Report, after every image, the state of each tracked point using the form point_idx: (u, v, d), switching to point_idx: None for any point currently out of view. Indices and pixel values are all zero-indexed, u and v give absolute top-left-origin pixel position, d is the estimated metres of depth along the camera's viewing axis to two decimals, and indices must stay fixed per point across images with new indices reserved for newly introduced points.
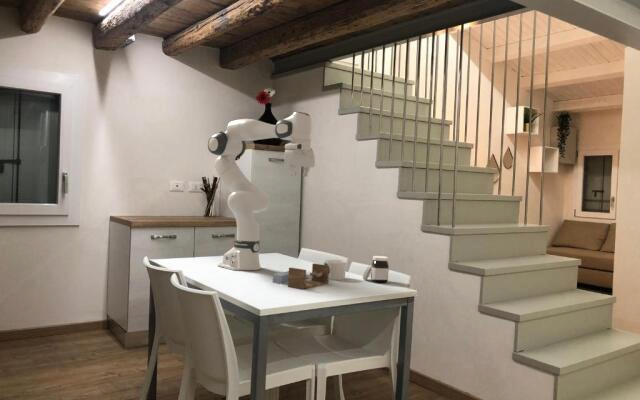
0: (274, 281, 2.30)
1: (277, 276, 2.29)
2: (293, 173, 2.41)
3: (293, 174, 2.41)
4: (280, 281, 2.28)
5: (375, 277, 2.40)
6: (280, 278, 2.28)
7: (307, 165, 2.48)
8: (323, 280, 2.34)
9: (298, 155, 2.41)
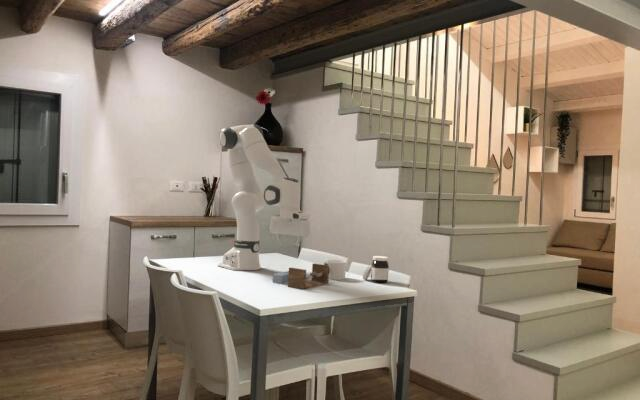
0: (274, 281, 2.30)
1: (277, 276, 2.29)
2: (298, 243, 2.32)
3: (298, 244, 2.32)
4: (280, 281, 2.28)
5: (375, 277, 2.40)
6: (280, 278, 2.28)
7: None
8: (323, 280, 2.34)
9: None
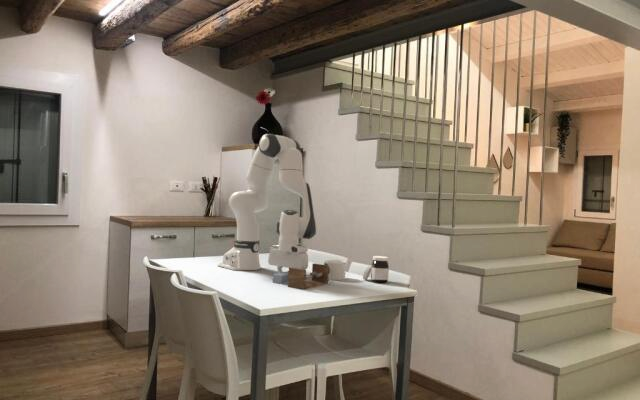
0: (274, 281, 2.30)
1: (277, 276, 2.29)
2: None
3: None
4: (280, 281, 2.28)
5: (375, 277, 2.40)
6: (280, 278, 2.28)
7: None
8: (323, 280, 2.34)
9: None
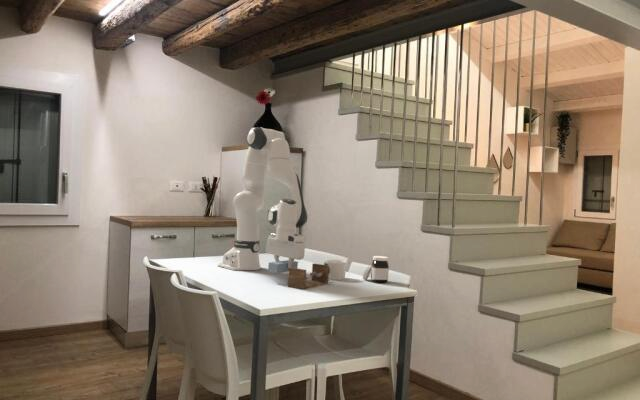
0: (269, 269, 2.30)
1: (272, 264, 2.29)
2: (290, 265, 2.32)
3: (290, 266, 2.32)
4: (275, 270, 2.28)
5: (375, 277, 2.40)
6: (275, 267, 2.28)
7: None
8: (323, 280, 2.34)
9: None
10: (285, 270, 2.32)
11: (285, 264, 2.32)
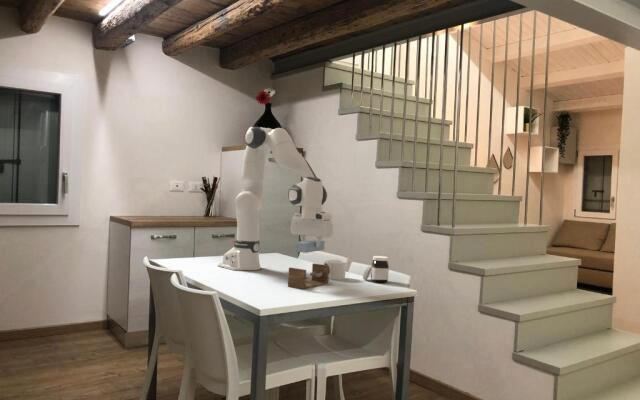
0: (298, 249, 2.23)
1: (301, 244, 2.22)
2: (318, 244, 2.26)
3: (318, 245, 2.26)
4: (304, 249, 2.21)
5: (375, 277, 2.40)
6: (304, 246, 2.21)
7: None
8: (323, 280, 2.34)
9: None
10: (313, 249, 2.26)
11: (313, 243, 2.25)
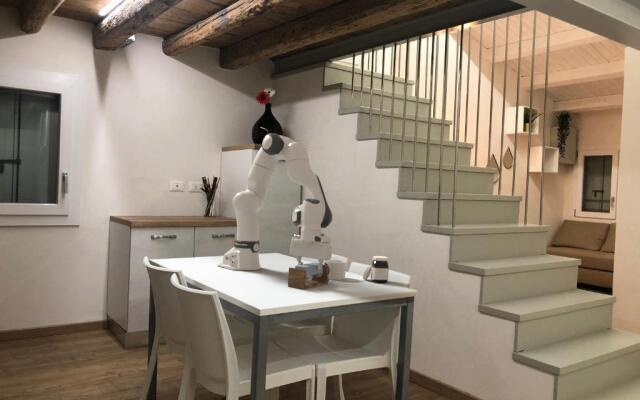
0: None
1: (299, 268, 2.22)
2: (320, 267, 2.25)
3: (320, 268, 2.25)
4: None
5: (375, 277, 2.40)
6: None
7: None
8: (323, 280, 2.34)
9: None
10: (312, 273, 2.26)
11: (312, 267, 2.26)
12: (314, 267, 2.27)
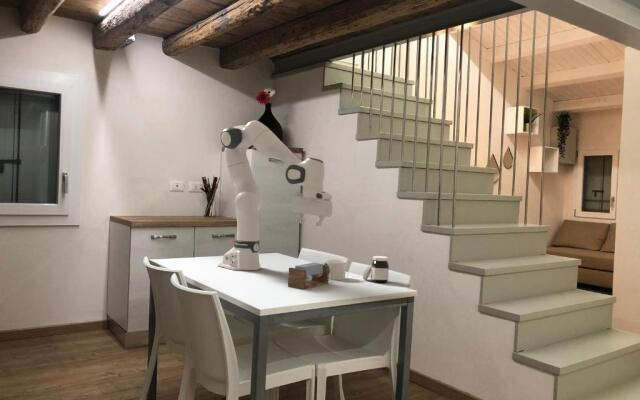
0: None
1: (299, 268, 2.22)
2: (320, 223, 2.34)
3: (320, 224, 2.34)
4: None
5: (375, 277, 2.40)
6: None
7: None
8: (323, 280, 2.34)
9: None
10: (312, 273, 2.26)
11: (312, 267, 2.26)
12: (314, 267, 2.27)
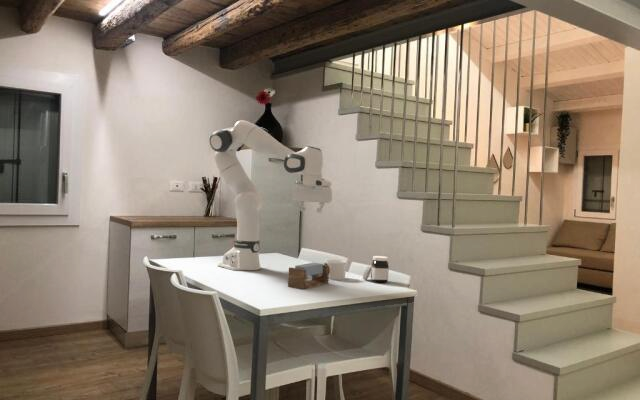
0: None
1: (299, 268, 2.22)
2: (321, 210, 2.40)
3: (321, 211, 2.40)
4: None
5: (375, 277, 2.40)
6: None
7: None
8: (323, 280, 2.34)
9: None
10: (312, 273, 2.26)
11: (312, 267, 2.26)
12: (314, 267, 2.27)
